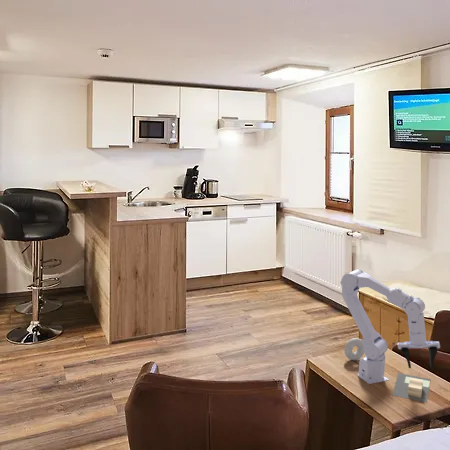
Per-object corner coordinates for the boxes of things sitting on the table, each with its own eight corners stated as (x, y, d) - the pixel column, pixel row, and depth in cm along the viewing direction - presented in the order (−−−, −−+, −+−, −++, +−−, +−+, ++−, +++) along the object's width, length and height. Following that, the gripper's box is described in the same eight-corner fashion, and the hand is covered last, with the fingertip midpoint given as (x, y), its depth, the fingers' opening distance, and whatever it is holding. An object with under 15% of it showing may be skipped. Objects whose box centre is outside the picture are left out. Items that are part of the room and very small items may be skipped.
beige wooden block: (420, 397, 174) (421, 389, 174) (407, 395, 176) (408, 386, 176) (422, 388, 181) (423, 379, 181) (409, 385, 183) (410, 377, 183)
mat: (427, 403, 171) (427, 402, 171) (392, 396, 176) (392, 394, 176) (430, 380, 189) (430, 378, 189) (398, 373, 194) (398, 372, 194)
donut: (361, 357, 210) (363, 335, 208) (366, 360, 207) (367, 338, 205) (342, 359, 207) (343, 338, 205) (346, 363, 204) (347, 341, 202)
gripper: (397, 335, 175) (401, 371, 176) (440, 333, 172) (443, 370, 172) (395, 329, 182) (399, 364, 183) (436, 328, 178) (439, 363, 179)
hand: (420, 366), depth 178 cm, fingers open, 7 cm apart
